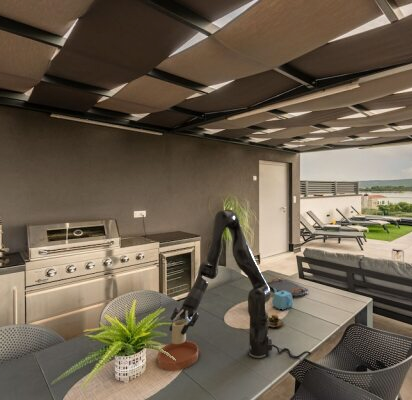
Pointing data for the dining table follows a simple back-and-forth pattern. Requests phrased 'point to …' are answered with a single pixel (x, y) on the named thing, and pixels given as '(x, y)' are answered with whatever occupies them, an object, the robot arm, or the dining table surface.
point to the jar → (178, 332)
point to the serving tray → (287, 287)
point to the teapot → (282, 299)
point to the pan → (178, 355)
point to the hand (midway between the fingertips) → (176, 332)
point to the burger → (275, 321)
